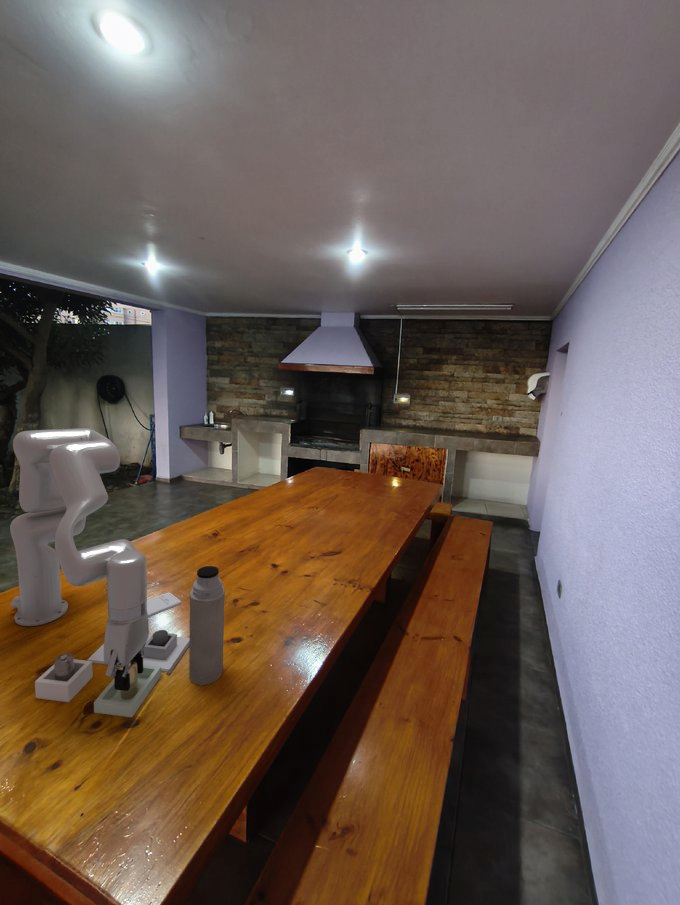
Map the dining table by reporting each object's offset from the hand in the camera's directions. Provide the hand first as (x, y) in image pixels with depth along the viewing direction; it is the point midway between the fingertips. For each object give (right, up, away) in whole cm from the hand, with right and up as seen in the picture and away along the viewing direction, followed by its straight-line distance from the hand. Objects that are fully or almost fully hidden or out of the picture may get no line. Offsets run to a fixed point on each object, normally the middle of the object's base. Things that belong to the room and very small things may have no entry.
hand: (129, 679), depth 89 cm
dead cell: (-15, -2, +1) cm, 15 cm away
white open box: (-15, -3, +1) cm, 16 cm away
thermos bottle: (+14, -4, +9) cm, 17 cm away
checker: (-4, -1, +14) cm, 15 cm away
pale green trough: (0, -4, +1) cm, 4 cm away
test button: (+1, 0, +14) cm, 14 cm away
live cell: (0, -3, +1) cm, 3 cm away
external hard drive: (-10, +2, +35) cm, 37 cm away
